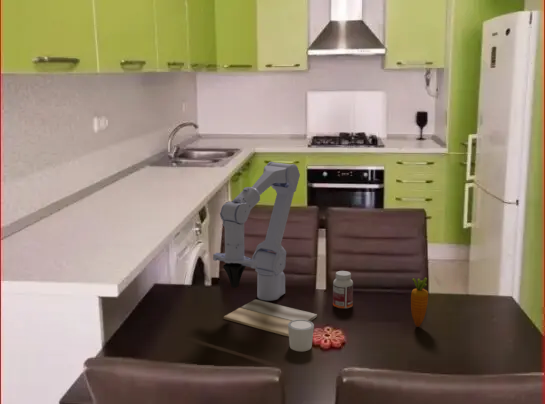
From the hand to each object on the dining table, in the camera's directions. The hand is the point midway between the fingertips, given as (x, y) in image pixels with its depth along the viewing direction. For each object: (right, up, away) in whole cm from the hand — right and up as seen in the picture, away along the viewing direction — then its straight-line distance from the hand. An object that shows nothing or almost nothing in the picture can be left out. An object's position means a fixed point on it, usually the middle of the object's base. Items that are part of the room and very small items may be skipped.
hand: (235, 286), depth 181 cm
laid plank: (+13, -9, +2) cm, 16 cm away
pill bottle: (+33, -8, +9) cm, 35 cm away
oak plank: (+8, -10, -5) cm, 14 cm away
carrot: (+53, -11, -6) cm, 54 cm away
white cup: (+19, -14, -20) cm, 31 cm away
